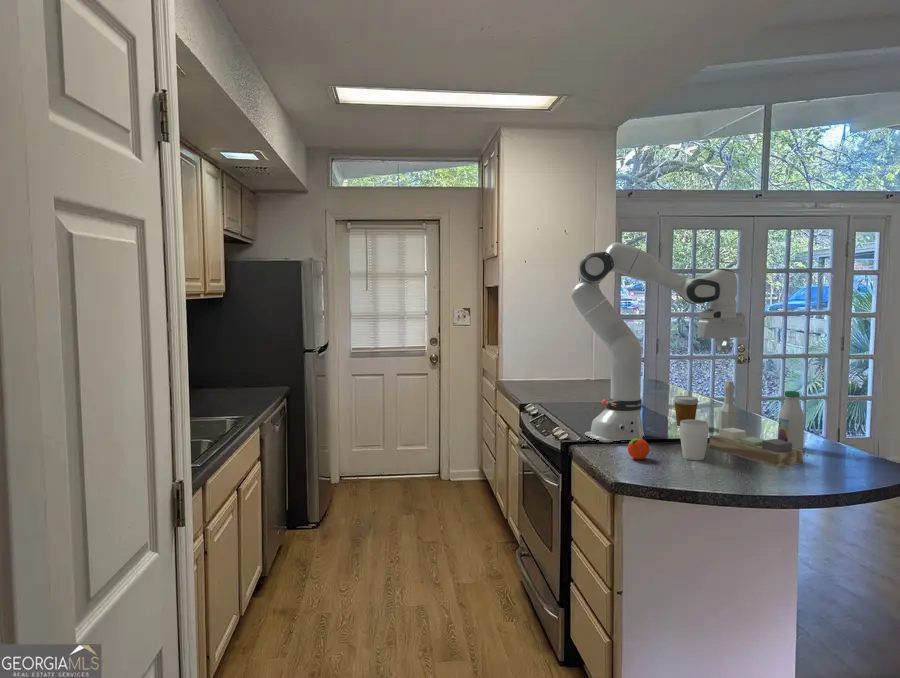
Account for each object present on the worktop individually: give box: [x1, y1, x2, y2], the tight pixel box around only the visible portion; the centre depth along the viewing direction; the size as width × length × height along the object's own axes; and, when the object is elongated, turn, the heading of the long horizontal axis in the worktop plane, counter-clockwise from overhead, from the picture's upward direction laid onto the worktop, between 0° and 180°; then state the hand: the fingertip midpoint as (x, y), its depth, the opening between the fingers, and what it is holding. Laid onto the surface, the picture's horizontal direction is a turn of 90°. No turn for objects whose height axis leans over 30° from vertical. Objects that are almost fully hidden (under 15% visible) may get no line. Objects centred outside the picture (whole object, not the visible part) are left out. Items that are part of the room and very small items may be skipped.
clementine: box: [627, 438, 650, 460], centre depth 203 cm, size 8×7×7 cm
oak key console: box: [709, 434, 804, 468], centre depth 207 cm, size 12×27×4 cm, turn 21°
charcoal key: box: [762, 438, 792, 453], centre depth 198 cm, size 6×6×4 cm
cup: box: [679, 419, 710, 461], centre depth 204 cm, size 9×9×12 cm
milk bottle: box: [777, 390, 805, 451], centre depth 214 cm, size 8×8×20 cm
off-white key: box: [719, 428, 748, 440], centre depth 215 cm, size 6×6×4 cm
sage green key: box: [740, 436, 764, 446], centre depth 207 cm, size 6×6×4 cm
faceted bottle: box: [717, 380, 740, 431], centre depth 225 cm, size 6×6×22 cm
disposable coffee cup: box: [672, 395, 699, 427], centre depth 249 cm, size 10×10×12 cm
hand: (721, 350), depth 229 cm, fingers closed
